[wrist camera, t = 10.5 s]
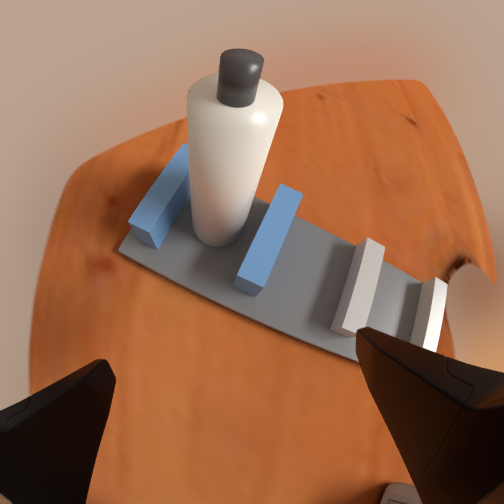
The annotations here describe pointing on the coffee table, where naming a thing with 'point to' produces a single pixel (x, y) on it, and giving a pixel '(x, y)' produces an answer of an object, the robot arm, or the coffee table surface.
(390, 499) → the digital clock
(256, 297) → the slotted divider tray
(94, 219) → the coffee table surface
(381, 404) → the robot arm
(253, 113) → the bottle
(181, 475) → the coffee table surface
